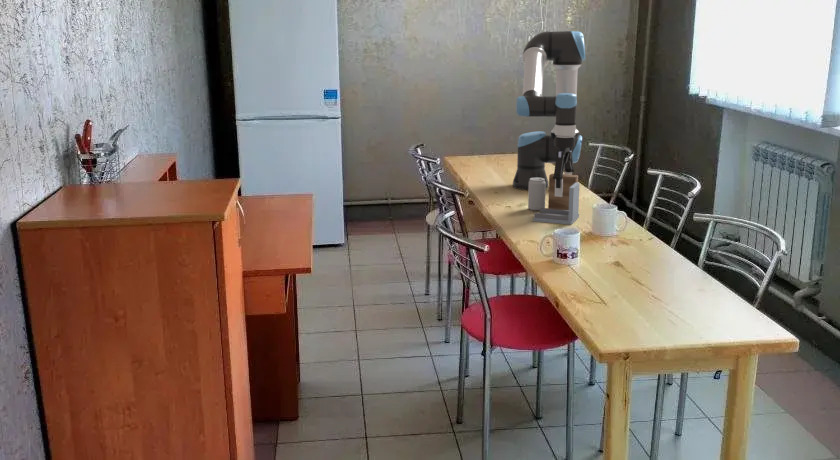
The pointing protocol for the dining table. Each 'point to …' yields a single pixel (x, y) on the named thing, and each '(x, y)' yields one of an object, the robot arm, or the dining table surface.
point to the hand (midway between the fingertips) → (563, 192)
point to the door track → (558, 214)
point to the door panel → (562, 201)
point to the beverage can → (536, 194)
